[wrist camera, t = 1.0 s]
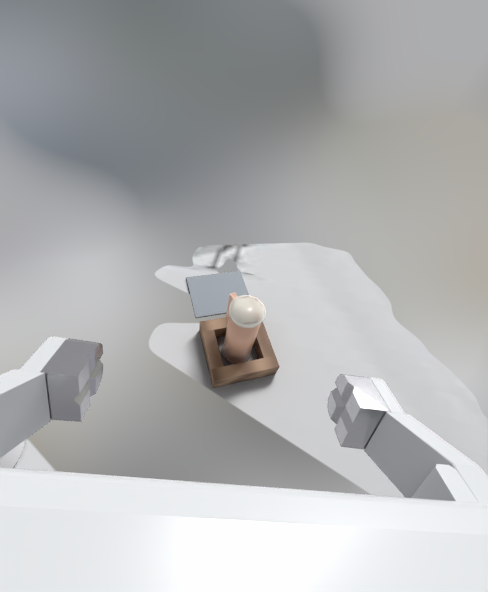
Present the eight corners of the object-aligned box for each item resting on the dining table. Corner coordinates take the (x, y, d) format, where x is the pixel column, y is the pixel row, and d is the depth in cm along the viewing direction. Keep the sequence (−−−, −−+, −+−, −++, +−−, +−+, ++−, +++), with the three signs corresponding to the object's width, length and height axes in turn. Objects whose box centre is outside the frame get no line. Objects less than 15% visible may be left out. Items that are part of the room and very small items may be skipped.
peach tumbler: (256, 358, 66) (271, 318, 53) (229, 369, 64) (239, 330, 51) (238, 325, 70) (249, 281, 58) (212, 334, 68) (217, 290, 55)
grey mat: (195, 318, 70) (195, 317, 69) (186, 278, 76) (186, 277, 76) (253, 308, 74) (253, 308, 73) (239, 271, 80) (240, 270, 80)
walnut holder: (212, 387, 61) (214, 381, 58) (199, 330, 68) (199, 321, 65) (275, 373, 64) (279, 366, 62) (256, 320, 72) (259, 312, 69)
